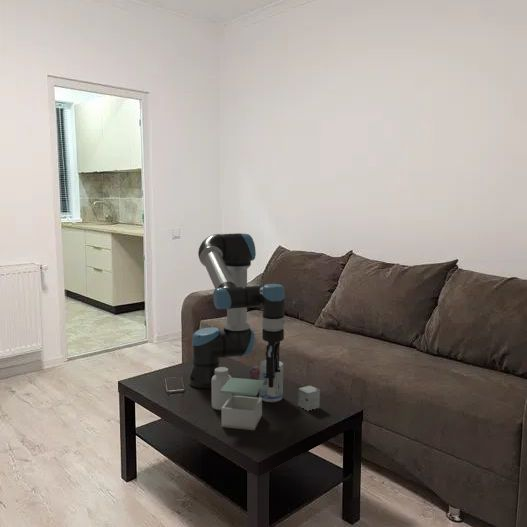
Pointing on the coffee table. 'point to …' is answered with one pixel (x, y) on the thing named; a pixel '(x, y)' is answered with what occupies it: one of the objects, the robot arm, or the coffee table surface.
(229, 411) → the box
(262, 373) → the supplement tub
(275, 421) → the coffee table surface
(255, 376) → the video game controller
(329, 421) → the coffee table surface
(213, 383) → the pill bottle
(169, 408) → the coffee table surface
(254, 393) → the lid
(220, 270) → the robot arm
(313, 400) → the skincare box
